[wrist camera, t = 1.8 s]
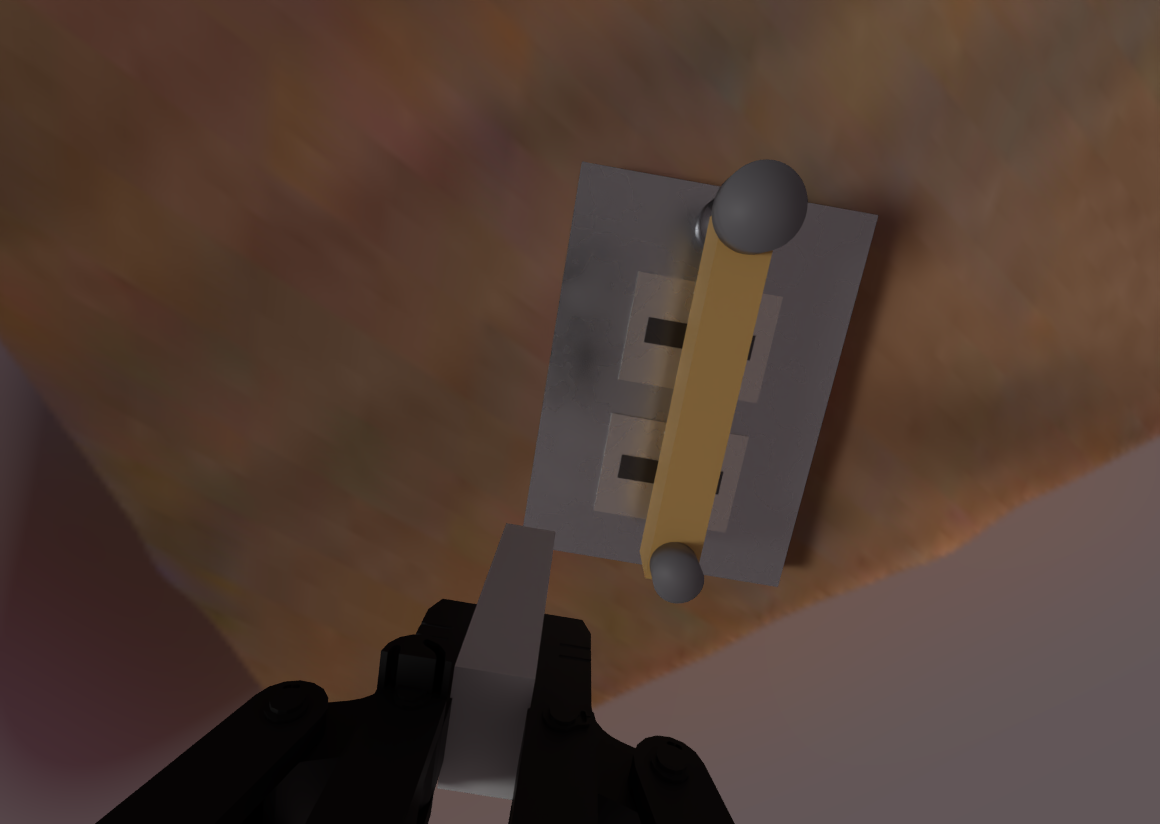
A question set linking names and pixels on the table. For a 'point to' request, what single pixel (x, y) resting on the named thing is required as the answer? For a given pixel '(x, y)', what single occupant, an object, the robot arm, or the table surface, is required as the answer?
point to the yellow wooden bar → (715, 366)
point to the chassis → (650, 363)
